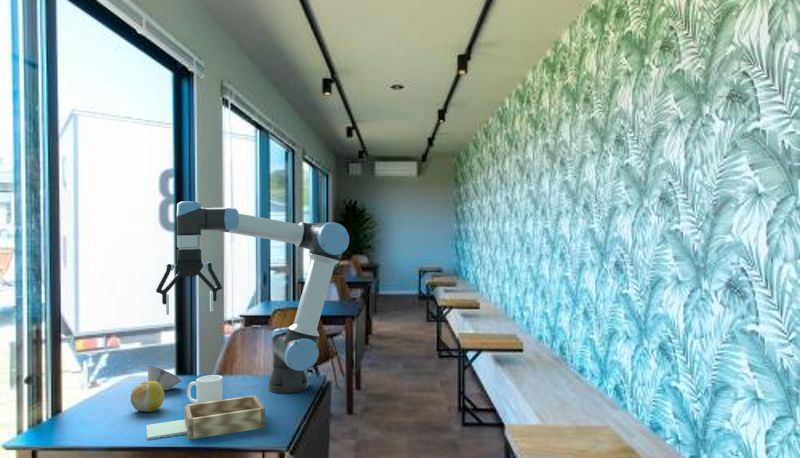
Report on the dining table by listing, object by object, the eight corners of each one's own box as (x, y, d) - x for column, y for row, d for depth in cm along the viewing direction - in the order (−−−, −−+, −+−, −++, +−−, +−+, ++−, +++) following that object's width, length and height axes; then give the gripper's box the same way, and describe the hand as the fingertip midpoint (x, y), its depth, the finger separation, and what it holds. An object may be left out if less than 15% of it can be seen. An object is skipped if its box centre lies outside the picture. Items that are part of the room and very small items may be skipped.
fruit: (146, 405, 188) (146, 376, 188) (171, 408, 185) (171, 378, 185) (122, 415, 179) (122, 384, 179) (148, 418, 175) (148, 387, 175)
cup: (216, 412, 180) (216, 381, 180) (181, 412, 181) (181, 381, 181) (226, 404, 188) (226, 375, 188) (192, 404, 189) (192, 374, 189)
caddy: (255, 413, 179) (255, 395, 179) (265, 428, 165) (264, 408, 165) (184, 424, 169) (184, 405, 169) (188, 441, 156) (188, 419, 156)
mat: (185, 423, 171) (185, 419, 171) (188, 435, 161) (188, 430, 161) (146, 429, 166) (146, 425, 166) (146, 441, 156) (146, 437, 156)
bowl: (180, 396, 207) (187, 384, 209) (161, 382, 197) (169, 370, 199) (154, 387, 211) (161, 376, 214) (134, 374, 201) (142, 362, 204)
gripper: (226, 247, 190) (227, 308, 190) (147, 249, 179) (148, 314, 179) (230, 247, 183) (230, 311, 183) (147, 249, 172) (148, 317, 172)
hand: (189, 312), depth 181 cm, fingers open, 13 cm apart
